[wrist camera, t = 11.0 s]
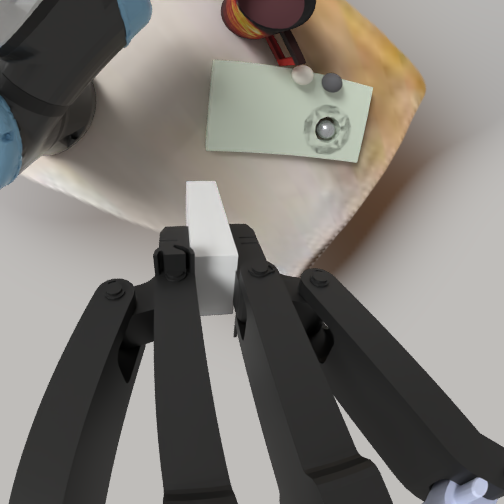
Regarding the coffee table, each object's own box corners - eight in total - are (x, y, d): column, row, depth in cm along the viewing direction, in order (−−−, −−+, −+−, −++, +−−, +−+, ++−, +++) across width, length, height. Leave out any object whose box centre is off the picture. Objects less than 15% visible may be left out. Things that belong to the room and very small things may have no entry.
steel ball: (328, 141, 44) (336, 140, 47) (332, 122, 43) (339, 122, 45) (311, 136, 46) (319, 135, 48) (314, 117, 44) (322, 118, 46)
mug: (278, 67, 40) (308, 68, 30) (207, 16, 33) (215, -2, 23) (315, 27, 36) (354, 20, 27) (248, -25, 29) (269, -51, 20)
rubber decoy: (318, 91, 39) (336, 89, 37) (317, 71, 38) (335, 69, 36) (328, 94, 41) (346, 93, 39) (327, 76, 40) (345, 74, 38)
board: (205, 146, 45) (206, 150, 43) (212, 60, 37) (214, 59, 35) (350, 158, 51) (356, 162, 49) (365, 86, 43) (372, 87, 41)
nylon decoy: (296, 78, 36) (317, 83, 36) (296, 59, 35) (317, 64, 36) (287, 85, 39) (307, 89, 39) (288, 67, 38) (307, 71, 39)
